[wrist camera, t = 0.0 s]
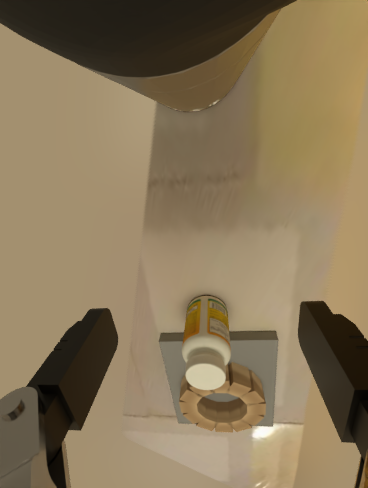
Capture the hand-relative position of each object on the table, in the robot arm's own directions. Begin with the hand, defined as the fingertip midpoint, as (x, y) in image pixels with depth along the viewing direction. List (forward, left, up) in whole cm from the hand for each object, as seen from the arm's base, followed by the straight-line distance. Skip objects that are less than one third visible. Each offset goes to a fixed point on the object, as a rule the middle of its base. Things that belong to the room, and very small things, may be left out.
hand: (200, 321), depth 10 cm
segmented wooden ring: (+29, 0, -16) cm, 33 cm away
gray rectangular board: (+29, 0, -17) cm, 33 cm away
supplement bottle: (+15, -1, -17) cm, 23 cm away
